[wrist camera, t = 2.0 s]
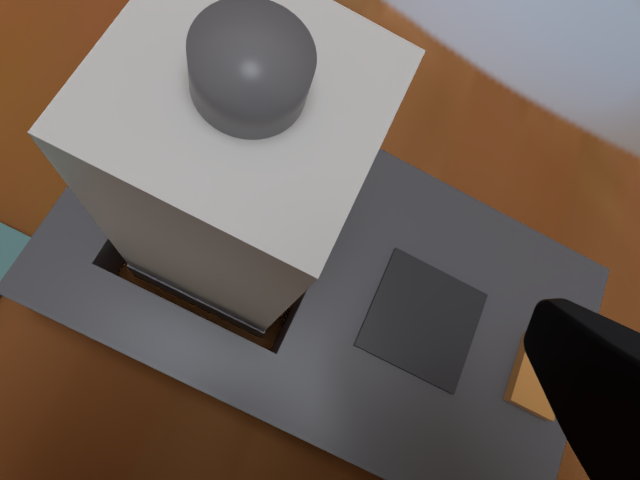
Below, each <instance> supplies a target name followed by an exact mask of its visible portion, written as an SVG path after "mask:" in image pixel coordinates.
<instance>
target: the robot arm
mask: <svg viewBox="0 0 640 480" xmlns="http://www.w3.org/2000/svg"><path fill="white" fill-rule="evenodd" d="M523 343H524V349H525V352H526V355H527V357H528V359H529V361H530V363H531V365H532V368H533V370H534V372H535V374H536V376H537V378H538V380H539V383H540V385H541V387H542V389H543V391H544V393H545V396H546V398H547V400H548V402H549V404H550V406H551V408H552V411H553V413H554V415H555V417H556V419H557V421H558V423H559V425H560V427H561V429H562V431H563V433H564V435H565V437H566V439H567V441H568V442H569V444H570V446H571V448H572V449H573V451H574V453H575V455H576V456H577V458H578V460H579V461H580V463H581V465H582V467H583V468H584V470H585V472H586V473H587V475H588V477H589V479H590V480H640V333H639V332H637V331H634V330H632V329H630V328H628V327H626V326H624V325H621V324H619V323H617V322H615V321H613V320H611V319H608V318H606V317H604V316H602V315H600V314H598V313H595V312H593V311H591V310H589V309H587V308H585V307H582V306H580V305H578V304H576V303H574V302H572V301H570V300H567V299H563V298H554V299H543V300H541V301H539V302H538V303H537V304H536V306H535V308H534V310H533V313H532V316H531V319H530V321H529V324H528V327H527V329H526V332H525V335H524V340H523Z"/></svg>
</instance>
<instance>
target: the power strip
mask: <svg viewBox="0 0 640 480" xmlns="http://www.w3.org/2000/svg"><path fill="white" fill-rule="evenodd" d="M124 261H125V260H124V258H123V257H122V256H121V254H120V253H119V252H118V251H117V249H116V248H115V247H114V245H113V244H112V243H111V241H110V240H109V239H108V237H107V236H106V235H105V234H104V232H103V231H102V230H101V228H100V227H99V226H98V224H97V223H96V222H95V220H94V219H93V218H92V216H91V215H90V214H89V213H88V211H87V210H86V209H85V207H84V206H83V205H82V203H81V202H80V201H79V199H78V198H77V197H76V195H75V194H74V193H73V192H72V190H71V189H70V188H69V186H67V188H66V189H65V191H64V192H63V194H62V195H61V196H60V198H59V199H58V201H57V202H56V203H55V205H54V206H53V208H52V209H51V210H50V212H49V213H48V215H47V216H46V218H45V219H44V220H43V222H42V223H41V225H40V226H39V227H38V229H37V230H36V232H35V233H34V234H33V236H32V237H31V239H30V240H29V242H28V243H27V244H26V246H25V247H24V249H23V250H22V251H21V253H20V254H19V256H18V257H17V258H16V260H15V261H14V263H13V264H12V266H11V267H10V268H9V270H8V271H7V273H6V274H5V275H4V277H3V278H2V280H1V281H0V295H3V296H5V297H7V298H9V299H11V300H13V301H15V302H17V303H19V304H21V305H23V306H25V307H27V308H30V309H32V310H34V311H36V312H38V313H40V314H42V315H44V316H46V317H48V318H50V319H52V320H54V321H57V322H59V323H61V324H63V325H65V326H67V327H69V328H71V329H73V330H75V331H77V332H79V333H82V334H84V335H86V336H88V337H90V338H92V339H94V340H96V341H98V342H100V343H102V344H104V345H106V346H109V347H111V348H113V349H115V350H117V351H119V352H121V353H123V354H125V355H127V356H129V357H131V358H133V359H136V360H138V361H140V362H142V363H144V364H146V365H148V366H150V367H152V368H154V369H156V370H158V371H160V372H163V373H165V374H167V375H169V376H171V377H173V378H175V379H177V380H179V381H181V382H183V383H185V384H187V385H190V386H192V387H194V388H196V389H198V390H200V391H202V392H204V393H206V394H208V395H210V396H212V397H214V398H217V399H219V400H221V401H223V402H225V403H227V404H229V405H231V406H233V407H235V408H237V409H239V410H242V411H244V412H246V413H248V414H250V415H252V416H254V417H256V418H258V419H260V420H262V421H264V422H266V423H269V424H271V425H273V426H275V427H277V428H279V429H281V430H283V431H285V432H287V433H289V434H291V435H293V436H296V437H298V438H300V439H302V440H304V441H306V442H308V443H310V444H312V445H314V446H316V447H318V448H320V449H323V450H325V451H327V452H329V453H331V454H333V455H335V456H337V457H339V458H341V459H343V460H345V461H347V462H350V463H352V464H354V465H356V466H358V467H360V468H362V469H364V470H366V471H368V472H370V473H372V474H374V475H377V476H379V477H381V478H383V479H385V480H556V479H557V475H558V471H559V467H560V463H561V459H562V455H563V451H564V447H565V443H566V437H565V435H564V433H563V431H562V429H561V427H560V425H559V423H558V421H557V419H556V417H555V415H554V413H553V411H552V408H551V406H550V404H549V402H548V400H547V398H546V396H545V393H544V391H543V389H542V387H541V385H540V383H539V380H538V378H537V376H536V374H535V372H534V370H533V368H532V365H531V363H530V361H529V359H528V357H527V355H526V352H525V349H524V343H523V340H524V335H525V332H526V329H527V327H528V324H529V321H530V319H531V316H532V313H533V310H534V308H535V306H536V304H537V303H538V302H539V301H541V300H543V299H554V298H563V299H567V300H570V301H572V302H574V303H576V304H578V305H580V306H582V307H585V308H587V309H589V310H591V311H593V312H595V313H598V314H599V310H600V306H601V302H602V298H603V294H604V290H605V286H606V282H607V278H608V274H609V269H608V268H606V267H604V266H602V265H600V264H598V263H596V262H594V261H592V260H590V259H589V258H587V257H585V256H583V255H581V254H579V253H577V252H575V251H573V250H571V249H570V248H568V247H566V246H564V245H562V244H560V243H558V242H556V241H554V240H552V239H551V238H549V237H547V236H545V235H543V234H541V233H539V232H537V231H535V230H533V229H532V228H530V227H528V226H526V225H524V224H522V223H520V222H518V221H516V220H514V219H513V218H511V217H509V216H507V215H505V214H503V213H501V212H499V211H497V210H495V209H494V208H492V207H490V206H488V205H486V204H484V203H482V202H480V201H478V200H476V199H475V198H473V197H471V196H469V195H467V194H465V193H463V192H461V191H459V190H457V189H456V188H454V187H452V186H450V185H448V184H446V183H444V182H442V181H440V180H438V179H437V178H435V177H433V176H431V175H429V174H427V173H425V172H423V171H421V170H419V169H418V168H416V167H414V166H412V165H410V164H408V163H406V162H404V161H402V160H400V159H399V158H397V157H395V156H393V155H391V154H389V153H387V152H385V151H383V150H381V149H379V151H378V153H377V155H376V157H375V159H374V161H373V163H372V166H371V168H370V170H369V172H368V174H367V176H366V178H365V180H364V183H363V185H362V187H361V189H360V191H359V193H358V195H357V197H356V199H355V202H354V204H353V206H352V208H351V210H350V212H349V214H348V216H347V219H346V221H345V223H344V225H343V227H342V229H341V231H340V233H339V236H338V238H337V240H336V242H335V244H334V246H333V248H332V250H331V253H330V255H329V257H328V259H327V261H326V263H325V265H324V267H323V270H322V272H321V274H320V276H319V278H318V280H317V281H315V282H314V283H313V284H312V285H311V286H310V287H309V288H308V289H307V290H306V291H305V292H304V293H303V294H302V295H301V296H300V297H299V298H298V299H297V300H296V301H295V302H294V303H293V305H292V307H291V309H290V311H289V313H288V316H287V318H286V320H285V322H284V324H283V326H282V328H281V330H280V332H279V334H278V336H277V338H276V341H275V343H274V345H273V347H272V349H271V351H269V350H267V349H265V348H263V347H261V346H259V345H257V344H255V343H253V342H251V341H249V340H247V339H245V338H243V337H241V336H239V335H237V334H235V333H233V332H231V331H228V330H226V329H224V328H222V327H220V326H218V325H216V324H214V323H212V322H210V321H208V320H206V319H204V318H202V317H200V316H198V315H196V314H194V313H192V312H190V311H188V310H186V309H184V308H182V307H180V306H178V305H176V304H173V303H171V302H169V301H167V300H165V299H163V298H161V297H159V296H157V295H155V294H153V293H151V292H149V291H147V290H145V289H143V288H141V287H139V286H137V285H135V284H133V283H131V282H129V281H127V280H125V279H123V278H121V277H119V276H116V274H117V273H118V271H119V269H120V268H121V266H122V265H123V263H124Z"/></svg>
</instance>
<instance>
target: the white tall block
mask: <svg viewBox="0 0 640 480" xmlns="http://www.w3.org/2000/svg"><path fill="white" fill-rule="evenodd" d="M424 53H425V50H423V49H421V48H420V47H418V46H416V45H414V44H412V43H410V42H409V41H407V40H405V39H403V38H401V37H399V36H397V35H396V34H394V33H392V32H390V31H388V30H386V29H385V28H383V27H381V26H379V25H377V24H375V23H374V22H372V21H370V20H368V19H366V18H364V17H363V16H361V15H359V14H357V13H355V12H353V11H352V10H350V9H348V8H346V7H344V6H342V5H340V4H339V3H337V2H335V1H333V0H130V1H129V2H128V3H127V4H126V6H125V7H124V8H123V10H122V11H121V12H120V13H119V15H118V16H117V17H116V19H115V20H114V21H113V23H112V24H111V25H110V26H109V28H108V29H107V30H106V32H105V33H104V34H103V35H102V37H101V38H100V39H99V41H98V42H97V43H96V44H95V46H94V47H93V48H92V50H91V51H90V52H89V54H88V55H87V56H86V57H85V59H84V60H83V61H82V63H81V64H80V65H79V66H78V68H77V69H76V70H75V72H74V73H73V74H72V75H71V77H70V78H69V79H68V81H67V82H66V83H65V85H64V86H63V87H62V88H61V90H60V91H59V92H58V94H57V95H56V96H55V97H54V99H53V100H52V101H51V103H50V104H49V105H48V106H47V108H46V109H45V110H44V112H43V113H42V114H41V115H40V117H39V118H38V119H37V121H36V122H35V123H34V125H33V126H32V127H31V128H30V130H29V131H28V132H27V133H28V134H29V135H30V136H31V138H32V139H33V140H34V142H35V143H36V144H37V146H38V147H39V148H40V150H41V151H42V152H43V154H44V155H45V156H46V157H47V159H48V160H49V161H50V163H51V164H52V165H53V167H54V168H55V169H56V171H57V172H58V173H59V175H60V176H61V177H62V178H63V180H64V181H65V182H66V184H67V185H68V186H69V188H70V189H71V190H72V192H73V193H74V194H75V195H76V197H77V198H78V199H79V201H80V202H81V203H82V205H83V206H84V207H85V209H86V210H87V211H88V213H89V214H90V215H91V216H92V218H93V219H94V220H95V222H96V223H97V224H98V226H99V227H100V228H101V230H102V231H103V232H104V234H105V235H106V236H107V237H108V239H109V240H110V241H111V243H112V244H113V245H114V247H115V248H116V249H117V251H118V252H119V253H120V254H121V256H122V257H123V258H124V260H125V261H126V262H127V264H128V265H127V267H128V268H129V270H130V271H131V272H132V273H133V275H134V276H136V277H138V278H140V279H142V280H144V281H146V282H148V283H150V284H152V285H154V286H156V287H158V288H160V289H163V290H165V291H167V292H169V293H171V294H173V295H175V296H177V297H179V298H181V299H183V300H185V301H187V302H189V303H191V304H193V305H195V306H197V307H199V308H201V309H203V310H205V311H207V312H209V313H211V314H213V315H215V316H217V317H219V318H221V319H223V320H226V321H228V322H230V323H232V324H234V325H236V326H238V327H240V328H242V329H244V330H246V331H248V332H250V333H252V334H254V335H256V336H258V337H262V336H263V335H264V334H265V332H266V330H267V328H268V327H269V326H270V325H271V324H272V323H273V322H274V321H275V320H276V319H277V318H278V317H280V316H281V315H282V314H283V313H284V312H285V311H286V310H287V309H288V308H289V307H290V306H291V305H292V304H293V303H294V302H295V301H296V300H297V299H298V298H299V297H300V296H301V295H302V294H303V293H304V292H305V291H306V290H307V289H308V288H309V287H310V286H311V285H312V284H313V283H314V282H315V281H317V280H318V278H319V276H320V274H321V272H322V270H323V267H324V265H325V263H326V261H327V259H328V257H329V255H330V253H331V250H332V248H333V246H334V244H335V242H336V240H337V238H338V236H339V233H340V231H341V229H342V227H343V225H344V223H345V221H346V219H347V216H348V214H349V212H350V210H351V208H352V206H353V204H354V202H355V199H356V197H357V195H358V193H359V191H360V189H361V187H362V185H363V183H364V180H365V178H366V176H367V174H368V172H369V170H370V168H371V166H372V163H373V161H374V159H375V157H376V155H377V153H378V151H379V149H380V146H381V144H382V142H383V140H384V138H385V136H386V134H387V132H388V129H389V127H390V125H391V123H392V121H393V119H394V117H395V115H396V112H397V110H398V108H399V106H400V104H401V102H402V100H403V98H404V95H405V93H406V91H407V89H408V87H409V85H410V83H411V81H412V78H413V76H414V74H415V72H416V70H417V68H418V66H419V64H420V61H421V59H422V57H423V55H424Z"/></svg>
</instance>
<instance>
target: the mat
mask: <svg viewBox="0 0 640 480" xmlns="http://www.w3.org/2000/svg"><path fill="white" fill-rule="evenodd" d="M30 239H31V237H29V236H27V235H25V234H23V233H21V232H19V231H17V230H15V229H13V228H11V227H9V226H7V225H5V224H3V223H1V222H0V281H1V280H2V278H3V277H4V275H5V274H6V273H7V271H8V270H9V268H10V267H11V266H12V264H13V263H14V261H15V260H16V258H17V257H18V256H19V254H20V253H21V251H22V250H23V249H24V247H25V246H26V244H27V243H28V242H29V240H30ZM1 296H2V295H0V297H1Z"/></svg>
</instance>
